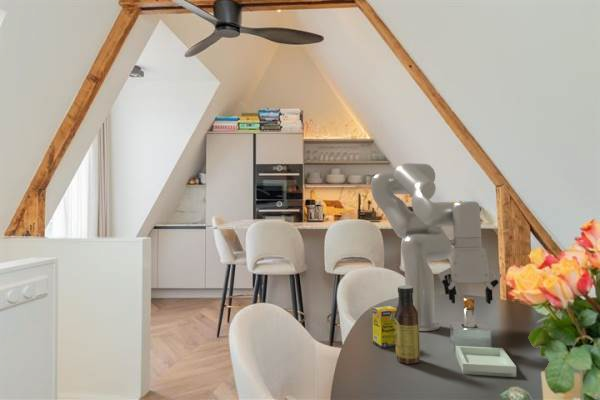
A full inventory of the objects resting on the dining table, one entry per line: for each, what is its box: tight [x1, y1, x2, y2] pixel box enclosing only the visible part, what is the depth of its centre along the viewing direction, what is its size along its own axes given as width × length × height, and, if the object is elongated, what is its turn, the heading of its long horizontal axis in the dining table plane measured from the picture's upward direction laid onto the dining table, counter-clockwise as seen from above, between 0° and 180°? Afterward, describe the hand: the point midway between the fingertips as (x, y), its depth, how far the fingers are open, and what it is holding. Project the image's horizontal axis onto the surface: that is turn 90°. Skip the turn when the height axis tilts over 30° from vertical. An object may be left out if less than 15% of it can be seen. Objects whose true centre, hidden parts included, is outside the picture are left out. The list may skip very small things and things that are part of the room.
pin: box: [462, 297, 476, 328], centre depth 126 cm, size 3×3×14 cm
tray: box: [455, 346, 517, 378], centre depth 111 cm, size 12×14×2 cm
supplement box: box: [372, 305, 397, 349], centre depth 130 cm, size 6×6×11 cm
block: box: [449, 321, 492, 351], centre depth 126 cm, size 10×8×6 cm
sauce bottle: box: [395, 285, 421, 365], centre depth 116 cm, size 6×6×20 cm
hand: (470, 302), depth 126 cm, fingers open, 9 cm apart
